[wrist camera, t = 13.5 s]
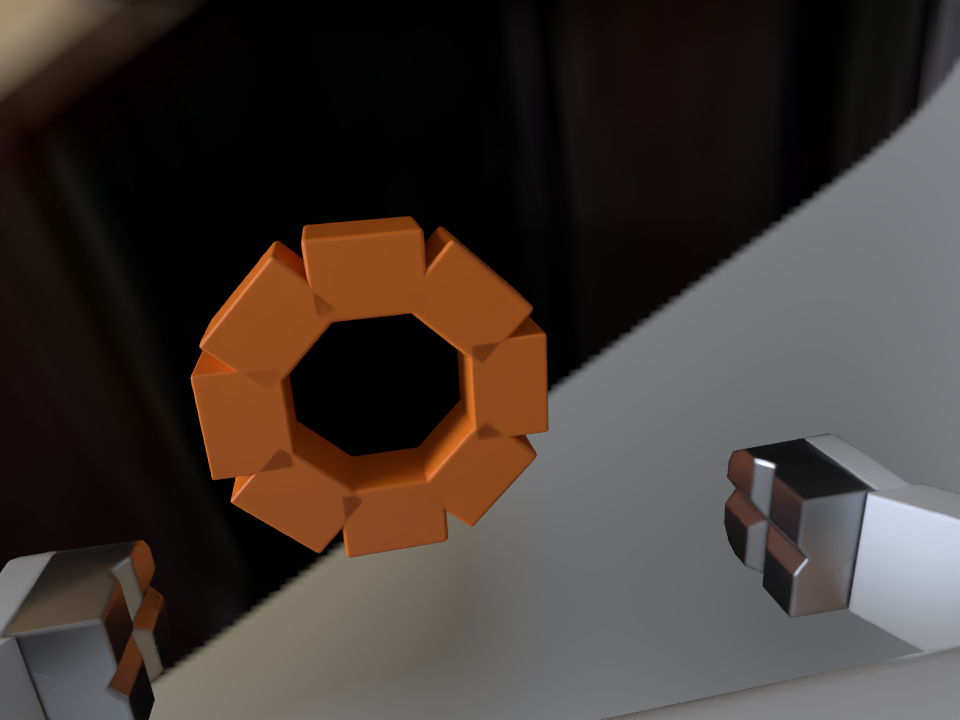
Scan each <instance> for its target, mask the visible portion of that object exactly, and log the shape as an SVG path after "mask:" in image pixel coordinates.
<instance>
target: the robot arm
mask: <svg viewBox="0 0 960 720" xmlns="http://www.w3.org/2000/svg"><path fill="white" fill-rule="evenodd" d="M727 477H728V478H729V480H730V481H731V482H732V484H733V485H734V486H735V488H736V489H735V490H734V492H733V493H732V495H731V496H730V497H729V499H728V500H727V501H726V503H725V520H724V524H725V528H726V532H727V536H728V540H729V543H730V545H731V547H732V549H733V551H734V553H735V554H736V555H737V557H738V558H739V559H740V560H741V561H742V563H743V564H744V565H745V566H747V567H749V568H751V569H754V570H756V571H758V572H760V573H763V574H764V575H763V587H764V588H765V589H766V591H767V592H768V593H769V594H770V595H771V596H772V597H773V598H774V600H775V601H776V602H777V603H778V604H779V605H780V607H781V608H782V609H783V610H784V611H785V612H786V613H787V614H788V616H789V617H790V618H793V617H799V616H805V615H810V614H817V613H823V612H829V611H835V610H841V609H847V608H849V612H851V613H853V614H855V615H857V616H858V617H860V618H862V619H864V620H866V621H868V622H869V623H871V624H873V625H875V626H877V627H879V628H881V629H882V630H884V631H886V632H888V633H890V634H892V635H893V636H895V637H897V638H899V639H901V640H902V641H904V642H906V643H908V644H910V645H912V646H914V647H916V648H917V649H919V650H921V651H923V652H920V653H916V654H911V655H906V656H901V657H897V658H892V659H887V660H882V661H878V662H873V663H868V664H864V665H859V666H854V667H849V668H844V669H840V670H835V671H830V672H825V673H821V674H816V675H811V676H806V677H802V678H797V679H792V680H788V681H782V682H778V683H773V684H768V685H764V686H759V687H754V688H750V689H745V690H740V691H735V692H730V693H725V694H721V695H716V696H711V697H706V698H702V699H697V700H692V701H687V702H683V703H678V704H673V705H668V706H664V707H659V708H654V709H650V710H645V711H640V712H635V713H631V714H626V715H621V716H617V717H612V718H607V719H602V720H960V494H959V493H955V492H951V491H947V490H944V489H940V488H936V487H933V486H929V485H925V484H916V485H911V484H910V483H908V482H906V481H905V480H904V479H902V478H901V477H899V476H898V475H896V474H895V473H893V472H892V471H890V470H889V469H887V468H886V467H884V466H883V465H881V464H880V463H878V462H877V461H875V460H874V459H872V458H871V457H869V456H868V455H866V454H865V453H863V452H862V451H860V450H859V449H858V448H856V447H854V446H853V445H852V444H850V443H848V442H847V441H845V440H844V439H843V438H841V437H839V436H838V435H833V434H828V433H827V434H822V435H817V436H812V437H806V438H802V439H797V440H792V441H786V442H780V443H775V444H769V445H764V446H759V447H753V448H747V449H742V450H737V451H733V453H732V455H731V458H730V460H729V465H728V475H727ZM155 568H156V567H155V564H154V561H153V557H152V554H151V551H150V548H149V546H148V545H147V544H146V543H145V542H144V541H143V540H139V541H132V542H124V543H117V544H109V545H102V546H94V547H87V548H79V549H72V550H64V551H60V552H56V551H54V552H48V553H42V554H36V555H30V556H24V557H19V558H16V559H13V560H11V561H9V562H8V563H7V565H6V566H5V568H4V569H3V570H2V572H1V573H0V720H149V717H150V713H151V710H152V707H153V703H154V700H155V699H154V695H153V692H152V688H151V684H150V683H151V682H152V681H153V680H154V679H155V678H156V677H157V676H158V675H159V674H161V673H162V672H163V670H164V666H165V663H166V659H167V655H168V648H169V632H170V629H169V620H168V612H167V608H166V604H165V600H164V596H163V595H161V594H160V593H159V592H157V591H156V590H155V589H153V588H152V587H150V586H149V585H150V582H151V579H152V577H153V574H154V571H155Z"/></svg>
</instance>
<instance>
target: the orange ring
mask: <svg viewBox="0 0 960 720" xmlns="http://www.w3.org/2000/svg"><path fill="white" fill-rule="evenodd" d="M301 245H302V252H303V259H304V260H303V259H302V258H301V257H299V256H298V255H297V254H296V253H294V252H293V251H292V250H290V249H289V248H288V247H286V246H285V245H284V244H282V243H281V242H279V241H276V242H274V243H273V244H272V245H271V247H270V248H269V249H268V250H267V252H266V253H265V254H264V255H263V257H262V258H261V259H260V260H259V262H258V263H257V264H256V265H255V267H254V268H253V269H252V270H251V272H250V273H249V274H248V275H247V277H246V278H245V279H244V280H243V281H242V283H241V284H240V285H239V286H238V288H237V289H236V290H235V291H234V293H233V294H232V295H231V296H230V298H229V299H228V300H227V301H226V303H225V304H224V305H223V306H222V308H221V309H220V310H219V311H218V313H217V314H216V315H215V316H214V318H213V319H212V320H211V322H210V324H209V326H208V328H207V330H206V332H205V334H204V336H203V338H202V340H201V342H200V348H201V349H202V350H203V352H202V354H201V356H200V358H199V360H198V362H197V365H196V367H195V369H194V371H193V373H192V375H191V382H192V387H193V391H194V396H195V401H196V405H197V410H198V414H199V419H200V424H201V428H202V433H203V438H204V442H205V447H206V452H207V456H208V461H209V466H210V470H211V475H212V478H213V480H218V479H225V478H232V477H236V480H235V484H234V489H233V493H232V498H231V502H232V503H233V504H234V505H236V506H238V507H239V508H241V509H243V510H245V511H246V512H248V513H250V514H252V515H253V516H255V517H257V518H258V519H260V520H262V521H264V522H265V523H267V524H269V525H271V526H272V527H274V528H276V529H277V530H279V531H281V532H283V533H284V534H286V535H288V536H290V537H291V538H293V539H295V540H297V541H298V542H300V543H302V544H303V545H305V546H307V547H309V548H310V549H312V550H314V551H316V552H317V553H320V552H322V550H323V549H324V548H325V547H326V546H327V545H328V544H329V542H330V541H331V540H332V539H333V538H334V537H335V536H336V535H337V533H338V532H339V531H340V530H341V529H342V531H343V538H344V545H345V552H346V555H347V556H348V557H355V556H362V555H367V554H373V553H379V552H384V551H391V550H397V549H403V548H409V547H415V546H420V545H426V544H432V543H438V542H444V541H446V540H447V538H448V529H447V516H446V511H447V512H449V513H450V514H452V515H453V516H455V517H456V518H458V519H460V520H461V521H463V522H464V523H466V524H467V525H469V526H474V525H475V524H476V523H477V521H478V520H479V519H480V518H481V517H482V516H483V515H484V514H485V513H486V512H487V511H488V509H489V508H490V507H491V506H492V505H493V504H494V503H495V502H496V501H497V500H498V499H499V497H500V496H501V495H502V494H503V493H504V492H505V491H506V490H507V489H508V488H509V486H510V485H511V484H512V483H513V482H514V481H515V480H516V479H517V478H518V477H519V475H520V474H521V473H522V472H523V471H524V470H525V469H526V468H527V467H528V465H530V463H531V462H532V461H533V460H534V459H535V458H536V455H537V454H536V452H535V450H534V449H533V447H532V445H531V444H530V442H529V440H528V439H527V437H526V434H533V433H540V432H546V431H548V385H547V336H546V333H545V332H544V331H543V330H542V329H541V328H540V327H539V326H538V325H537V324H536V323H535V322H534V321H533V320H532V319H531V318H530V317H529V316H528V315H529V314H530V313H531V312H532V310H533V308H532V305H531V304H530V303H529V302H528V301H527V300H526V299H525V298H524V297H523V296H522V295H521V294H519V293H518V292H517V291H516V290H515V289H514V288H513V287H512V286H511V285H510V284H509V283H508V282H506V281H505V280H504V279H503V278H502V277H501V276H499V275H498V274H497V273H496V272H495V271H494V270H492V269H491V268H490V267H489V266H488V265H487V264H486V263H484V262H483V261H482V260H481V259H480V258H479V257H477V256H476V255H475V254H474V253H473V252H472V251H470V250H469V249H468V248H467V247H466V246H465V245H463V244H462V243H461V242H460V241H459V240H458V239H457V238H455V237H454V236H453V235H452V234H451V233H450V232H448V231H447V230H446V229H445V228H443V227H439V228H437V229H436V230H435V232H434V233H433V234H432V235H431V236H430V238H429V239H428V240H427V241H426V242H425V243H424V232H423V230H422V229H421V227H420V226H419V225H418V224H417V222H416V221H415V220H414V218H413V217H410V216H407V217H396V218H384V219H372V220H361V221H349V222H338V223H326V224H315V225H306V226H304V228H303V234H302V242H301ZM411 313H412V314H413V315H414V316H416V317H417V318H418V319H419V320H421V321H422V322H423V323H425V324H426V325H427V326H428V327H430V328H431V329H432V330H433V331H435V332H436V333H437V334H439V335H440V336H441V337H442V338H444V339H445V340H446V341H447V342H449V343H450V344H451V345H453V346H454V347H455V348H456V349H457V356H458V371H459V386H460V400H459V402H458V403H457V404H456V405H455V406H454V407H453V408H452V409H451V411H450V412H449V413H448V414H447V415H446V416H445V417H444V419H443V420H442V421H441V422H440V423H439V424H438V425H437V426H436V428H435V429H434V430H433V431H432V432H431V433H430V434H429V436H428V437H427V438H426V439H425V440H424V441H423V442H422V444H421V445H420V446H419V447H416V448H409V449H402V450H396V451H389V452H382V453H375V454H368V455H361V456H354V457H351V456H350V455H348V454H347V453H345V452H344V451H342V450H341V449H339V448H338V447H336V446H335V445H333V444H332V443H330V442H329V441H327V440H325V439H324V438H322V437H321V436H319V435H318V434H316V433H315V432H313V431H312V430H310V429H309V428H307V427H306V426H304V425H303V424H301V423H300V422H298V421H297V420H296V413H295V407H294V401H293V395H292V389H291V382H290V376H289V373H290V372H291V371H292V370H293V369H294V367H295V366H296V365H297V364H298V363H299V361H300V360H301V359H302V358H303V357H304V355H305V354H306V353H307V352H308V351H309V349H310V348H311V347H312V346H313V345H314V343H315V342H316V341H317V340H318V339H319V337H320V336H321V335H322V334H323V333H324V331H325V330H326V329H327V328H328V327H329V325H330V324H331V323H332V322H338V321H347V320H356V319H365V318H374V317H383V316H392V315H402V314H411Z"/></svg>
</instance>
